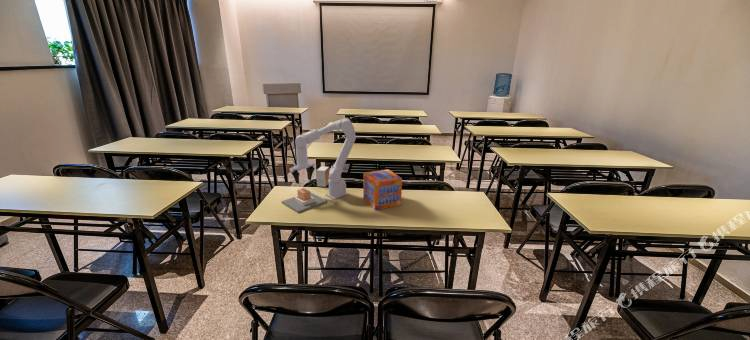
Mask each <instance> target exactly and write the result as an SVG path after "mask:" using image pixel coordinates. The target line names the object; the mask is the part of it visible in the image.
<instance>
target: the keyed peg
mask: <svg viewBox="0 0 750 340" xmlns="http://www.w3.org/2000/svg"><path fill="white" fill-rule="evenodd" d="M310 192H311V191H310V190H308V189H306V188H305V187H303V188H300V189H297V196H298V198H299V199H301V200H303V201H305V200H308V199H311V197H310Z"/></svg>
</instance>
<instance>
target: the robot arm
mask: <svg viewBox="0 0 750 340" xmlns="http://www.w3.org/2000/svg"><path fill="white" fill-rule="evenodd" d="M333 131H337V132H341V131H342V132H343V133H344V135H345V140H344V142H343V145H342V147H341V149H340V151H339V153H338V156H337V158H336V161H335V163H333V165H332V166H331V168H329V176H330V177H329V178H330V179H329V184H328V192H327V193H326V194H325V195H326V196H327V197H328V198H331V199H333V200H336V199H339V198H342V197H343V196H347V195H348V193H347V184H346V182H347V181H346V180H345V179H344V178H342V173H343V170H344V169H343V168H344V166H345V165H346V162H347V159H348V158H349V155H350V153H351V150H352V149H353V146H354V143H355V141H356V138H357V137H356V130H355V127H354V124H353V122H352V120H351V119H350V118H348V117H343V118H341V119H337V120H335V121H333V122H330V123H329V124H327V125H325V126H324V127H321V128H320V129H316V128H314V129H313V128H311V129H309V131H307V132H305V133H301V134H300V135H296V138H295V141H294V144H295V155H296V165H294V166H292V167H290V168H289V172H290V173H291V176H293V179H294V180H295V181H294V182H295V183H296V184H297V185H299V183H300V172H299V171H302V170H305V169H306V174H307V181H311V180H312V176H313V173H314V172H315V168H316V164H315V162H308V150H307V145H308V144H311V143H314V142H316V141H318V140H320V139H321V136H324V135H326V134H328V133H331V132H333Z"/></svg>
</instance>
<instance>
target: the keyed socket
mask: <svg viewBox="0 0 750 340" xmlns="http://www.w3.org/2000/svg"><path fill="white" fill-rule="evenodd" d="M310 197H311V199H308V200H305V201H303V200H301V199H299V198H298V195H295V196H293V197H290V198H287V199H284V200H281V204H282V205H284V206H285V207H286V206H287V208H289V209H291V210H293V211H294V212H296V213H297V214H299V213H302V212H306V211H307V210H310V209H312V208H316V207H319V206H321V205H324V204H326V203H328V200H326V199H325V198H322V197H321V196H319V195H318V194H315V193H313V192H311V191H310Z"/></svg>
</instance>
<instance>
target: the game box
mask: <svg viewBox="0 0 750 340" xmlns="http://www.w3.org/2000/svg"><path fill="white" fill-rule="evenodd" d="M362 179H363V180H362V181H363V185H362V186H363V187H362V188H363V194H362V195H363V200H364V201H365V202H367V204H368V205H369V206H370V207H371V208H373V209H374V210H375V211H378V210H383V209H388V208H392V207H396V206H401V205H402V193H403V192H402V190H403V188H402V187H403V178H402V177H401V176H399V175H397V174H396V173H395V172H394V171H392V170H391V169H381V170H375V171H369V172H368V171H367V172H363V178H362Z"/></svg>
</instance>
